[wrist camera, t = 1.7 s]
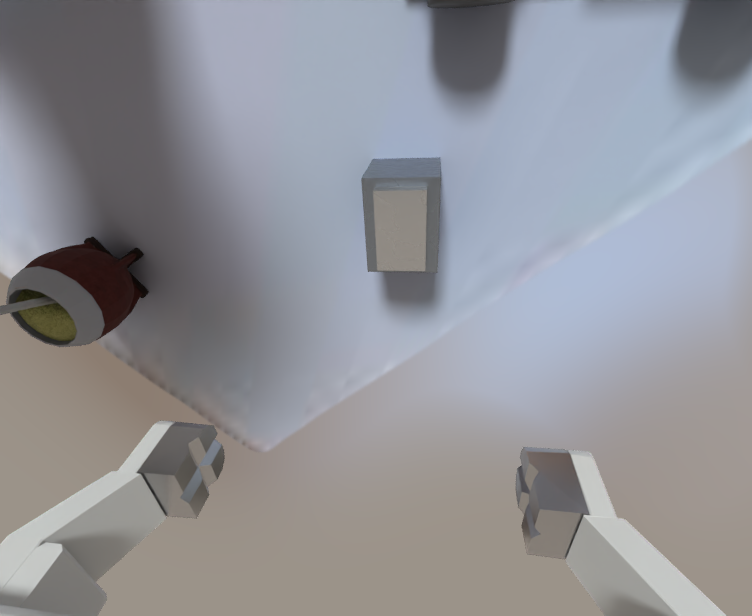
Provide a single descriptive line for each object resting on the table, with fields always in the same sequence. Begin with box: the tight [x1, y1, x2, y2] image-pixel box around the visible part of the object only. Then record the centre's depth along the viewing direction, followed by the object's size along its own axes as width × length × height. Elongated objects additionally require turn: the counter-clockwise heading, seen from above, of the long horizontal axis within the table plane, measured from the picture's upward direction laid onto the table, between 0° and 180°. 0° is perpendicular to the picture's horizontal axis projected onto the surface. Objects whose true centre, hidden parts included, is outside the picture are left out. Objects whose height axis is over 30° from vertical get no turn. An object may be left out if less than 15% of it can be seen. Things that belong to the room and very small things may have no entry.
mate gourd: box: [0, 237, 149, 347], centre depth 28 cm, size 8×8×15 cm
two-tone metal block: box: [362, 158, 441, 273], centre depth 26 cm, size 4×6×6 cm
